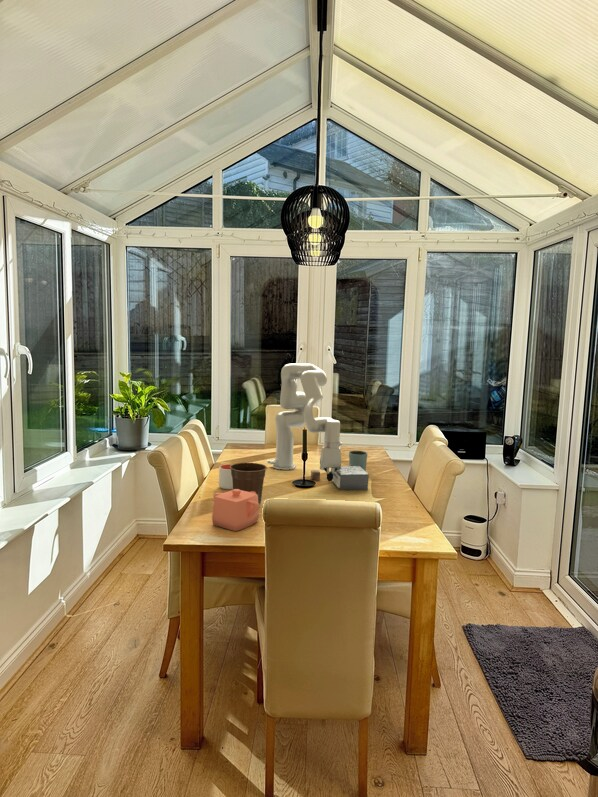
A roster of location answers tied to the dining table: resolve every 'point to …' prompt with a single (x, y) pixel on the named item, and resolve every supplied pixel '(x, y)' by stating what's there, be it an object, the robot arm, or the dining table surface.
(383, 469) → the dining table surface
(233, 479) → the plant pot
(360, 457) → the grey green tumbler
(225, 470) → the cup
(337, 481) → the white drawer
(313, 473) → the walnut block
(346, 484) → the housing
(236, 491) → the teapot
